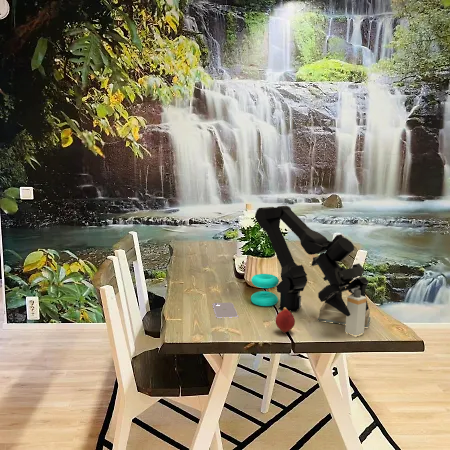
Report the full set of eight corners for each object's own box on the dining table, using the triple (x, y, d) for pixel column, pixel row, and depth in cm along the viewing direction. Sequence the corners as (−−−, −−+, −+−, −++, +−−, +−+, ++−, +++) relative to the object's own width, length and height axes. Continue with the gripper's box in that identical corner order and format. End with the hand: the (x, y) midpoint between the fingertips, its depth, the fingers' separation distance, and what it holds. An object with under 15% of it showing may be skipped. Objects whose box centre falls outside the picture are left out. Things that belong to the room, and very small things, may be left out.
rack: (317, 321, 151) (318, 309, 150) (322, 312, 159) (323, 301, 158) (367, 328, 145) (368, 316, 144) (370, 319, 153) (371, 307, 152)
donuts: (246, 277, 164) (258, 271, 173) (245, 304, 166) (258, 296, 174) (271, 282, 159) (283, 275, 168) (270, 309, 161) (282, 301, 169)
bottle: (344, 333, 141) (347, 289, 139) (353, 330, 143) (355, 287, 141) (355, 337, 138) (359, 293, 135) (363, 334, 140) (367, 290, 138)
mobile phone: (216, 317, 150) (211, 302, 165) (216, 319, 151) (211, 304, 165) (239, 316, 151) (232, 301, 166) (239, 319, 152) (232, 304, 166)
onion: (292, 328, 143) (293, 304, 142) (295, 336, 138) (296, 311, 136) (273, 328, 143) (274, 304, 142) (276, 336, 138) (277, 310, 136)
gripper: (327, 259, 134) (356, 305, 128) (365, 252, 146) (394, 293, 139) (306, 279, 142) (332, 323, 135) (343, 270, 153) (370, 311, 146)
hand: (358, 312), depth 139 cm, fingers open, 9 cm apart
